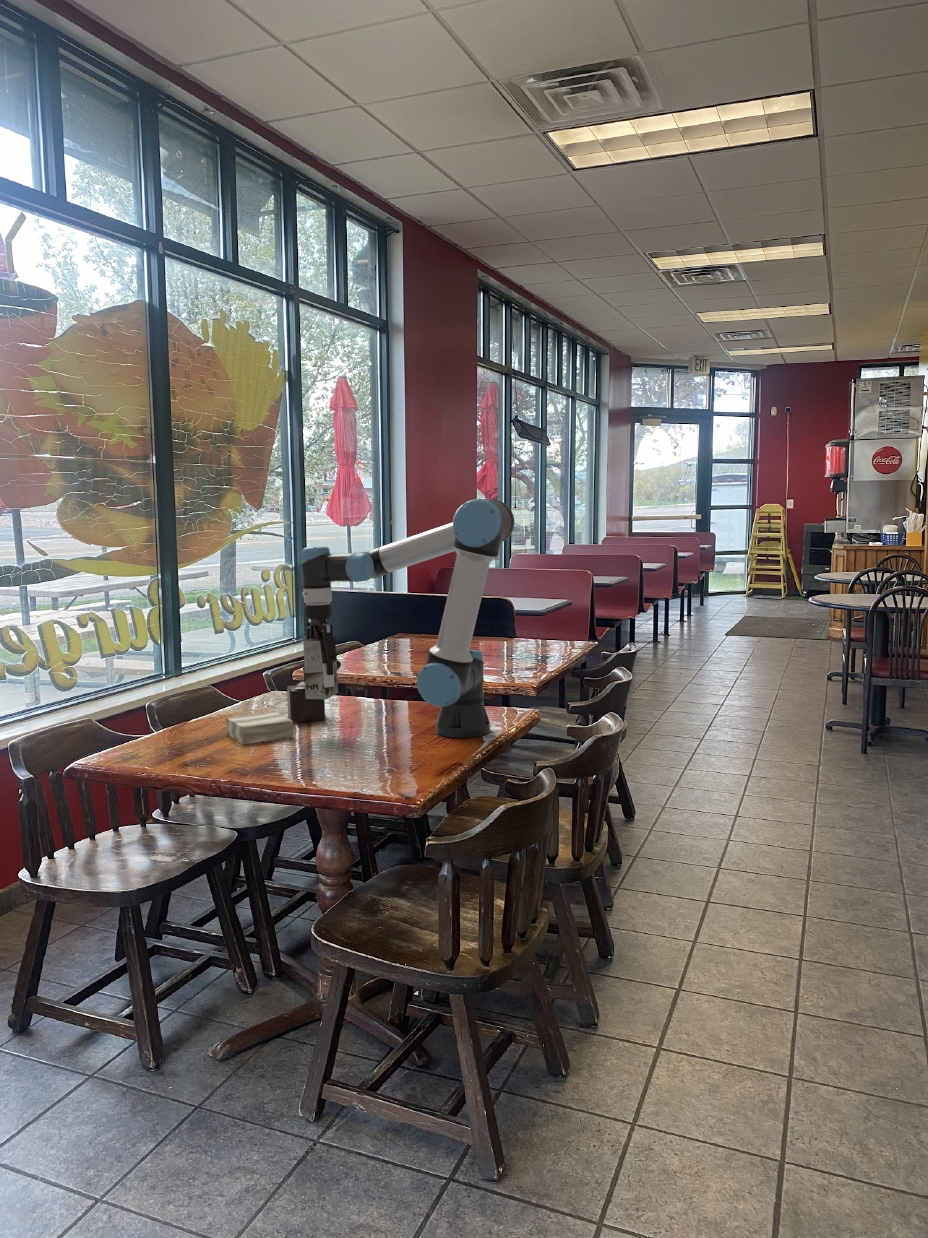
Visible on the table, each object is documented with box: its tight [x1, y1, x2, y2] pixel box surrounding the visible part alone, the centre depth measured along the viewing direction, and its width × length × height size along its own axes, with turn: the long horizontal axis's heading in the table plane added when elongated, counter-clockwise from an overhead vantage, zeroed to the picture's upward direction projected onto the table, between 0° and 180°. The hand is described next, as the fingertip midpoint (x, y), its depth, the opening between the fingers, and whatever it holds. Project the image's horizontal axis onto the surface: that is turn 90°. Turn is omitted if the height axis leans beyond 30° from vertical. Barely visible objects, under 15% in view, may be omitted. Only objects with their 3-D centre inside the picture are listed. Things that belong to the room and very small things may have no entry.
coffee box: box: [303, 636, 339, 700], centre depth 248 cm, size 9×6×16 cm
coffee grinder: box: [287, 659, 342, 723], centre depth 270 cm, size 16×11×18 cm
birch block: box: [226, 711, 294, 745], centre depth 249 cm, size 14×14×5 cm
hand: (321, 684), depth 248 cm, fingers closed on coffee box, 10 cm apart
